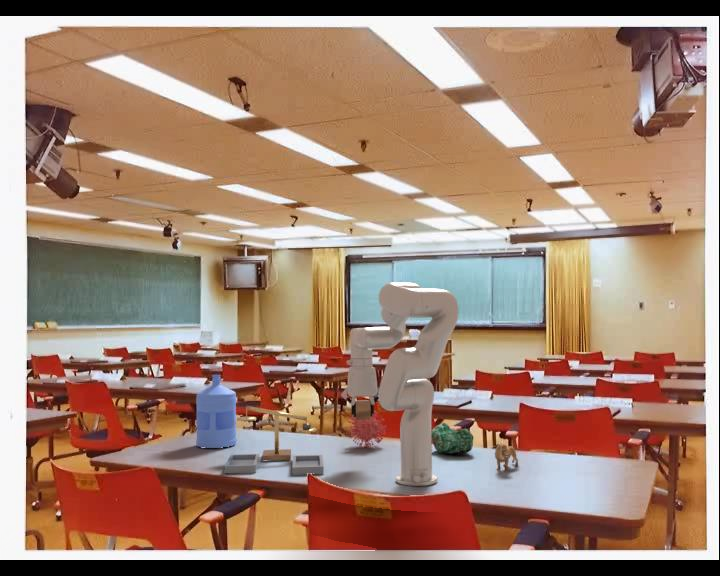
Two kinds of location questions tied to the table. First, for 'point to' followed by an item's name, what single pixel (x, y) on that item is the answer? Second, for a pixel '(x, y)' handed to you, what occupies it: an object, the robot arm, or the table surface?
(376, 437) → the virus model
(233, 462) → the dish high side
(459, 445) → the mineral
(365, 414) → the walnut block
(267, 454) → the balance
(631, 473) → the table surface
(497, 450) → the lion figurine
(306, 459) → the dish low side
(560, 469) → the table surface
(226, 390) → the water jug
